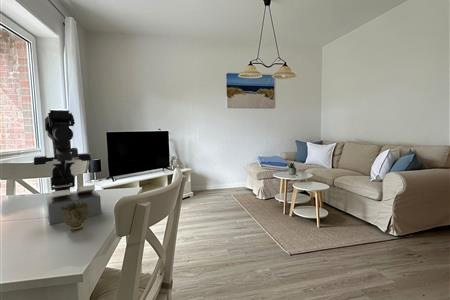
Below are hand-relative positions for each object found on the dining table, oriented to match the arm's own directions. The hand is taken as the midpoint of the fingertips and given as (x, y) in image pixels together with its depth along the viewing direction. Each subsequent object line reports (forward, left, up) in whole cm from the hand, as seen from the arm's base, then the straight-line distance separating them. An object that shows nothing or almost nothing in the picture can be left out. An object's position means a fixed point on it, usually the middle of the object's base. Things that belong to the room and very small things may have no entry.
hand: (64, 179), depth 99 cm
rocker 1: (+12, -2, -4) cm, 12 cm away
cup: (+27, 0, -12) cm, 30 cm away
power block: (+10, +2, -12) cm, 16 cm away
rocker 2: (+12, +6, -4) cm, 13 cm away
